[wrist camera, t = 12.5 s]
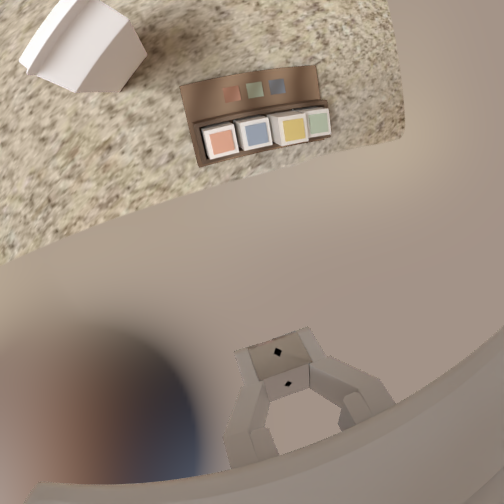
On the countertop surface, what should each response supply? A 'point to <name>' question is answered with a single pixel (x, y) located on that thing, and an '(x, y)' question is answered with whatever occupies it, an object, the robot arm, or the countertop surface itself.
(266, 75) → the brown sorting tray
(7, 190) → the countertop surface
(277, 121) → the key mustard
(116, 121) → the countertop surface
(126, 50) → the milk
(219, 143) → the key terracotta
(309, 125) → the key sage
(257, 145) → the key slate
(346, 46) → the countertop surface
